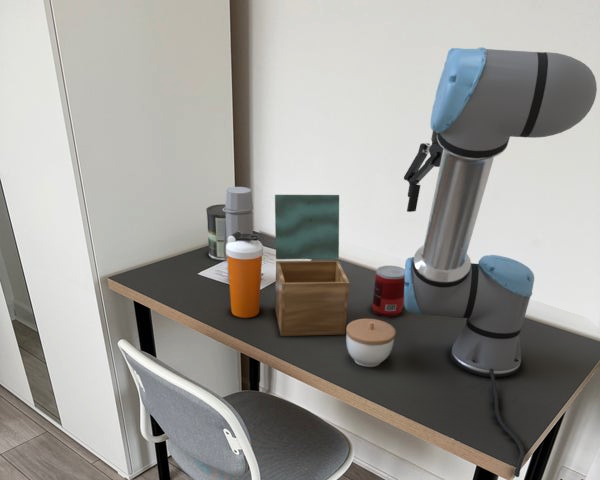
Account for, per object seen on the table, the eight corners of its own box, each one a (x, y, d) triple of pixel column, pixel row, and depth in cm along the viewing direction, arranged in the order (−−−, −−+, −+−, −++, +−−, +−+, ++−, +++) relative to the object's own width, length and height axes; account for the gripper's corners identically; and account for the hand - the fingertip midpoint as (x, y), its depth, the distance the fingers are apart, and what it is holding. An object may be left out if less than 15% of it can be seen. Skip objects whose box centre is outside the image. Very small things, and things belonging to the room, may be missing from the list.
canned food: (407, 310, 154) (413, 271, 148) (389, 320, 149) (395, 279, 143) (383, 301, 158) (389, 262, 152) (365, 310, 153) (370, 270, 147)
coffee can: (202, 256, 180) (199, 210, 172) (219, 246, 188) (217, 202, 180) (231, 262, 177) (230, 216, 169) (247, 252, 185) (247, 207, 177)
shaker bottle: (257, 321, 145) (257, 243, 134) (223, 317, 147) (220, 238, 136) (266, 306, 153) (267, 231, 142) (233, 302, 154) (231, 227, 143)
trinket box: (353, 344, 138) (357, 307, 132) (397, 355, 134) (403, 318, 129) (336, 364, 130) (339, 326, 124) (382, 377, 126) (387, 338, 121)
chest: (344, 334, 142) (349, 282, 134) (280, 336, 140) (282, 283, 132) (334, 309, 153) (338, 260, 146) (275, 310, 151) (276, 261, 144)
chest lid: (339, 194, 142) (338, 195, 142) (275, 194, 139) (274, 194, 140) (338, 258, 145) (338, 258, 146) (276, 259, 143) (275, 259, 144)
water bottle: (259, 279, 168) (259, 189, 154) (242, 288, 162) (240, 195, 148) (233, 271, 172) (231, 183, 158) (216, 280, 166) (212, 189, 152)
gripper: (505, 133, 131) (481, 228, 142) (419, 118, 147) (404, 205, 158) (486, 133, 127) (463, 231, 138) (399, 118, 143) (385, 207, 153)
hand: (431, 217), depth 148 cm, fingers open, 13 cm apart
